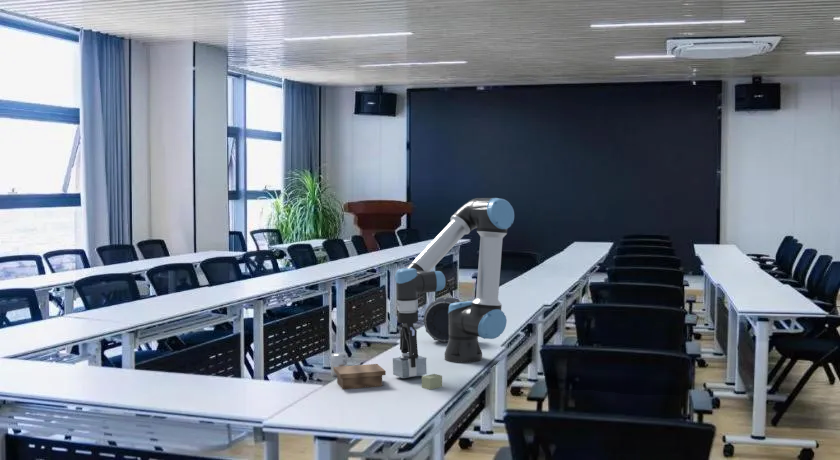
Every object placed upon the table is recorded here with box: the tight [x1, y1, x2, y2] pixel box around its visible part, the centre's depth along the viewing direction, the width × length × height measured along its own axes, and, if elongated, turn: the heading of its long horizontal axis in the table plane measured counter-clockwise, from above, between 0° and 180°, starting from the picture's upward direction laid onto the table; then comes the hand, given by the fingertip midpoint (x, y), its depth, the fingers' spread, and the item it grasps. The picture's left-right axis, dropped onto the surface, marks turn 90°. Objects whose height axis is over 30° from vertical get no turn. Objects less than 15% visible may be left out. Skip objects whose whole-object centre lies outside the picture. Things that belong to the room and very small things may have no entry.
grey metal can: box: [330, 352, 348, 378], centre depth 309 cm, size 6×6×8 cm
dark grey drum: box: [422, 296, 461, 344], centre depth 372 cm, size 11×20×20 cm, turn 78°
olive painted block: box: [421, 373, 443, 390], centre depth 290 cm, size 6×4×4 cm, turn 133°
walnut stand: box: [334, 363, 387, 390], centre depth 295 cm, size 16×12×6 cm
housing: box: [392, 354, 428, 379], centre depth 305 cm, size 10×7×7 cm
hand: (409, 373), depth 305 cm, fingers closed on housing, 8 cm apart
